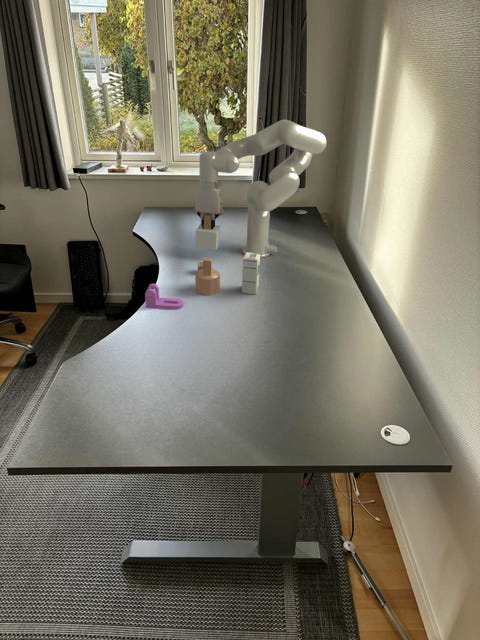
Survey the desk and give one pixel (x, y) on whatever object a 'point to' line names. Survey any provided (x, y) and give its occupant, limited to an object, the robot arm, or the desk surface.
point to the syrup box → (250, 273)
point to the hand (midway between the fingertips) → (208, 227)
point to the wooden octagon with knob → (207, 278)
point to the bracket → (160, 299)
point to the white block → (207, 234)
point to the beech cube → (200, 265)
